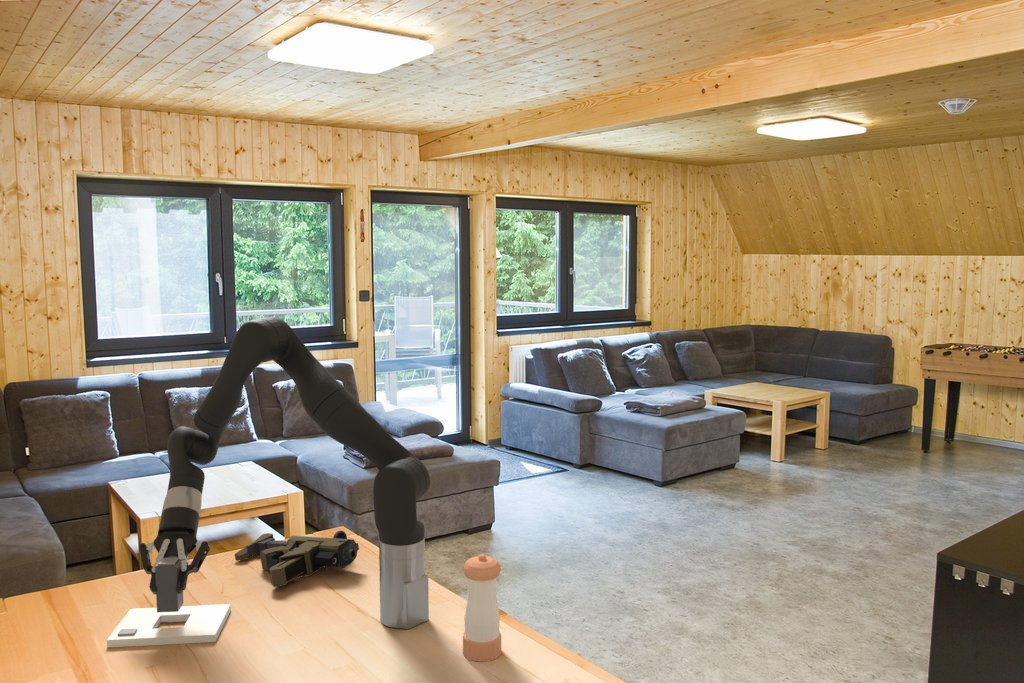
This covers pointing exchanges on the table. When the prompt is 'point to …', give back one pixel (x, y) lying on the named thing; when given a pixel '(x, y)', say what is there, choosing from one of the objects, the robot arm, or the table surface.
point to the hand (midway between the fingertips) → (166, 592)
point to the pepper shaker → (482, 610)
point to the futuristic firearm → (300, 555)
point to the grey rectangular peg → (168, 585)
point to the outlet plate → (144, 631)
